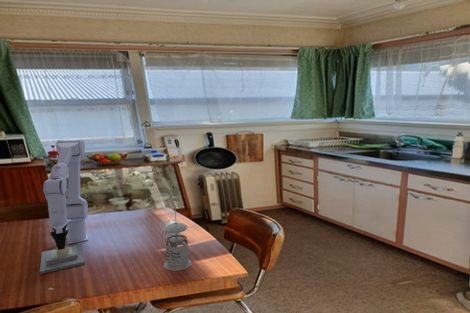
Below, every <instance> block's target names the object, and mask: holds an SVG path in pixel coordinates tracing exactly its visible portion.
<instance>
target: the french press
mask: <svg viewBox="0 0 470 313" xmlns="http://www.w3.org/2000/svg"><path fill="white" fill-rule="evenodd" d="M171 200H172V201H173V202H176V201H178V197H176V196H174V197H171ZM176 209H177V208H176V206H174V216H175V218H174V221H177V214H176ZM187 229H188V225H186V224H185V223H183V222H179V223H172V224H169V225H168V226H166V225H165V227H164V230H163V231H162V233H161V235H160V236H161V239H163V234H164V235H167V234H168V233H166V232H169V233H176V235H172V236H168V237H166V236H164V240H165V244H164V242H163V240H161V242H162V245H163V247H164V248H165V251H166V255H165V256H166V261H165V263H164V264H163V267H164V268H165V269H166V270H168V271H172V272H173V271H176V272H177V271H182V270H186V269H188V268H189V267H191V265H192V261H191V260H190V259H189V242H188V239H187V236H186V235H184V234H179V235H177V233H179V232H180V233H183V232H185V231H187ZM176 243H177V244H176Z"/></svg>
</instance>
